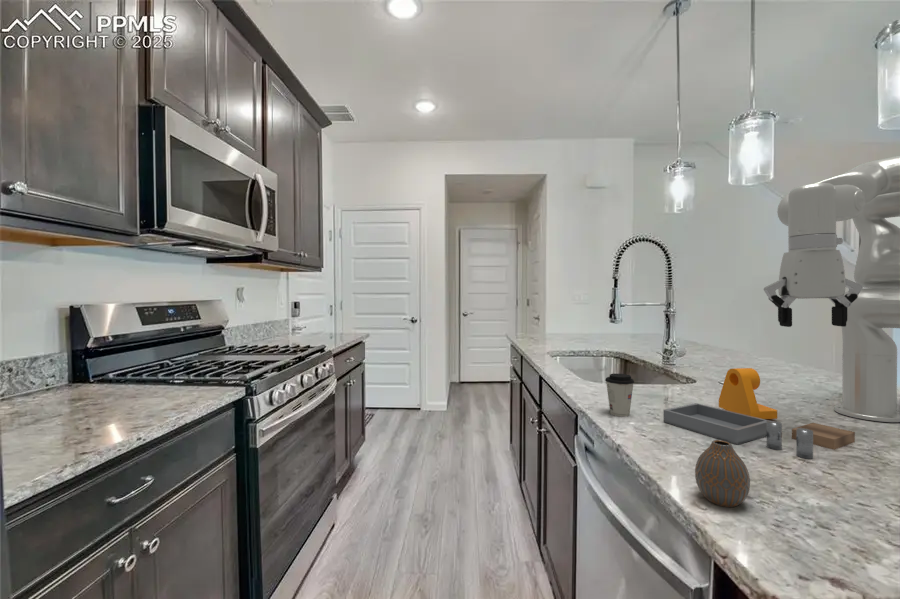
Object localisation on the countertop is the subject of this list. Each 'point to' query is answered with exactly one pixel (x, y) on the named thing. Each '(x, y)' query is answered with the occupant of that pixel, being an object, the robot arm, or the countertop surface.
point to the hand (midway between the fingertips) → (812, 326)
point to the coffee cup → (619, 394)
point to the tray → (717, 423)
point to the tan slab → (828, 436)
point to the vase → (722, 475)
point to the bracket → (743, 394)
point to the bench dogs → (802, 439)
